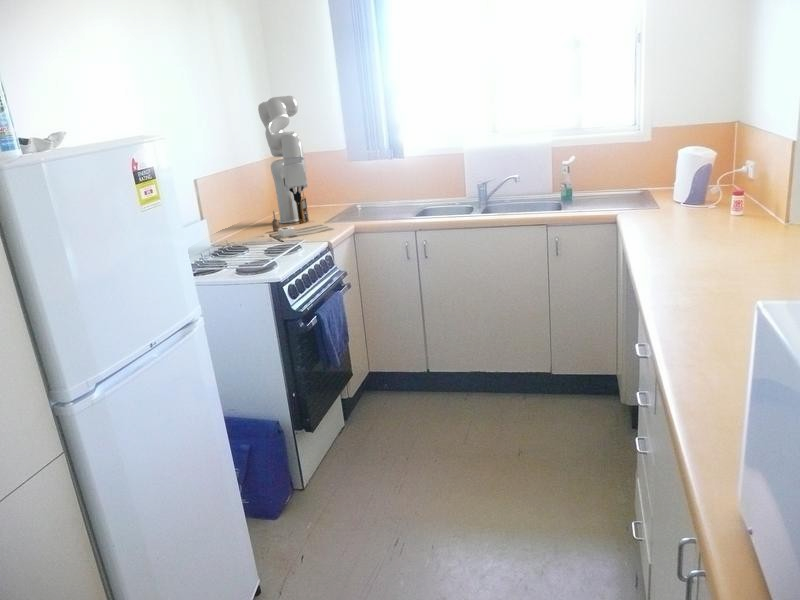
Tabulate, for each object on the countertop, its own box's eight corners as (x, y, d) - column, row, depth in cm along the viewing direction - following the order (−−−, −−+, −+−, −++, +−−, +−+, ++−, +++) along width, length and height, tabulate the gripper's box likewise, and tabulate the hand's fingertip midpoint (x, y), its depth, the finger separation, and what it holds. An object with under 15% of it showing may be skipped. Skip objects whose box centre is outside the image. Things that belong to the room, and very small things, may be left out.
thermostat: (278, 235, 303) (277, 228, 302) (291, 232, 306) (290, 226, 305) (283, 237, 298) (282, 230, 297) (296, 234, 301) (295, 227, 300)
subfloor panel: (269, 236, 308) (269, 233, 308) (321, 226, 319) (321, 224, 319) (281, 242, 293) (281, 239, 293) (335, 231, 304) (335, 229, 304)
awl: (273, 233, 314) (269, 211, 311) (279, 232, 316) (275, 210, 313) (275, 234, 312) (271, 211, 309) (281, 233, 313) (277, 210, 310)
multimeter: (315, 225, 323) (310, 184, 317) (296, 227, 326) (290, 186, 320) (325, 219, 337) (319, 180, 331) (306, 221, 339) (301, 181, 333)
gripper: (304, 158, 303) (310, 198, 309) (273, 163, 297) (279, 203, 303) (310, 159, 297) (316, 200, 303) (279, 164, 291) (285, 205, 296)
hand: (298, 201), depth 303 cm, fingers closed
